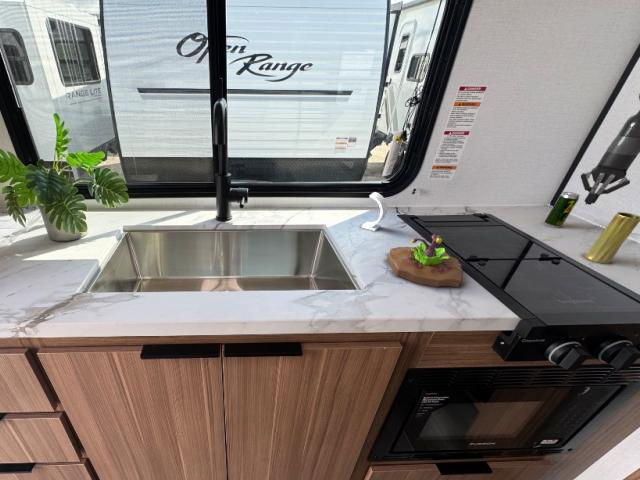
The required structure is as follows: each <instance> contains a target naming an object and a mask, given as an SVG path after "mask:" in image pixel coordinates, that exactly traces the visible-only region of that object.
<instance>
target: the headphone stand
mask: <svg viewBox="0 0 640 480" xmlns="http://www.w3.org/2000/svg"><path fill="white" fill-rule="evenodd" d="M368 196H369V197H368V198H370V199H372V200H374V201H375V202H376V203H377V205H378V207H379V216H378V218H377V219H376V221H366V222H365V223H363V224H362V225H361V228H362V229H365V230H369V231H373V232H375V231H378V229H380V227H381V225H380V224H379V223H381V221H383V220H384V219H385V217H386V215H387V213H388V203H387V200H386V198H385V197H384V196H383V195H382V194H380V193H379V192H376V191H374V192H372V193H371V194H369V195H368Z"/></svg>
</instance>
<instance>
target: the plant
mask: <svg viewBox="0 0 640 480" xmlns="http://www.w3.org/2000/svg"><path fill="white" fill-rule="evenodd" d="M431 239H432V241H431V244H429V243H427V241H426V240H425V239H423V238H417V237H415V238H414V237H413V238H412V239H411V241H410V243H412V244H416V243H417V242H419V245H416V246H398V247H397V246H396V247H393V248H392V247H391V248H390V251H389V254H388V256H387V259H386V262H387V263H388V265H389V267H390V268H391V269H392V271H393V273H394V275H395V276H396V277H398V278H401V279H404V280H408V281H410V282H412V283H415V284H418V285H423V286H427V287H428V286H429V287H434V288H438V287H451V288H452V287H453V288H459V286H460V285H461V283H462V281H463V267H462V266H463V264H461V263H460V262H459V259H457V258H455V257H453V256H451V255H450V254H449V253H448V252H446V248H445V247H438V248H436V247H437V246H436V245H437V244H441V243H442V242H443V238H442V236H441V235H440V234H439V235H437V234H436V233H433V234H432V235H431ZM457 284H459V285H457Z"/></svg>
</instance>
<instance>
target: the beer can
mask: <svg viewBox="0 0 640 480" xmlns="http://www.w3.org/2000/svg"><path fill="white" fill-rule="evenodd" d="M580 196H581V194H579V193H576V192H571V191H563V192H562V193H561V194H559V196H558V198H557V200H556V201H555V203H554V205H553V206H552V208H551V210H550V212H549V213H548V215H547V217H546V218H545V219H544V225H545V226H547V227H549V228H550V227H551V228H556V229H557V228H558V229H559V228H561V227H562V226H563V225H564V223H565V222H566V221H567V219H568V217H569V215H570V214H571V213H572V211H573V209H574V208H575V206H576V204H577V203H578V202H579V200H580Z"/></svg>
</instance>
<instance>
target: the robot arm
mask: <svg viewBox="0 0 640 480" xmlns="http://www.w3.org/2000/svg"><path fill="white" fill-rule="evenodd" d="M638 100H639V101H640V93H639V94H638ZM639 154H640V109H639V110H638V111H637V112H636V114H633V115H631V116H629V117H628V119H627V120H626V121H625V122H624V123H623V125H622V127H621V128H620V130H619V132H618V133H617V135H616V136H615V137H614V139H613V140H612V142H611V143H610V144H609V145H608V147H607V148H606V150H605V153H604V154H603V155H602V157H601V158H600V160H599V162H598V163H597V165H596V166H595V167H593V168H592V169H591V170H590V171H587V172H583V173H581V174H580V180H581V182H582V186H583V189H584V191H587V192H588V194H587V196H586V197H585V199H584V203H585V204H584V205H589V206H591V205H592V204H593V205H594V204H596V202H597V201H598V199H599V198H600V196H602V195H610V194H611V193H613V192H615V191H618V190H619V189H621V188H624V187H626V186H628V185H629V184H631V180H630V179H629V178H628V177H627V175H628V174H627V173H628V170H629V168H630V167H631V165H632V164H633V163H634V161H635V160H636V158H637V157H638V155H639ZM591 177H592V181H593V182H594V183H593V185H592V186H591V185H590V182H589V179H590V178H591ZM617 182H618V183H617ZM614 183H617V184H614ZM600 184H601V186H600ZM612 184H614V185H612ZM609 185H612V186H610V187H608V186H609ZM599 186H600V187H599ZM598 187H599V188H598Z"/></svg>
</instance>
